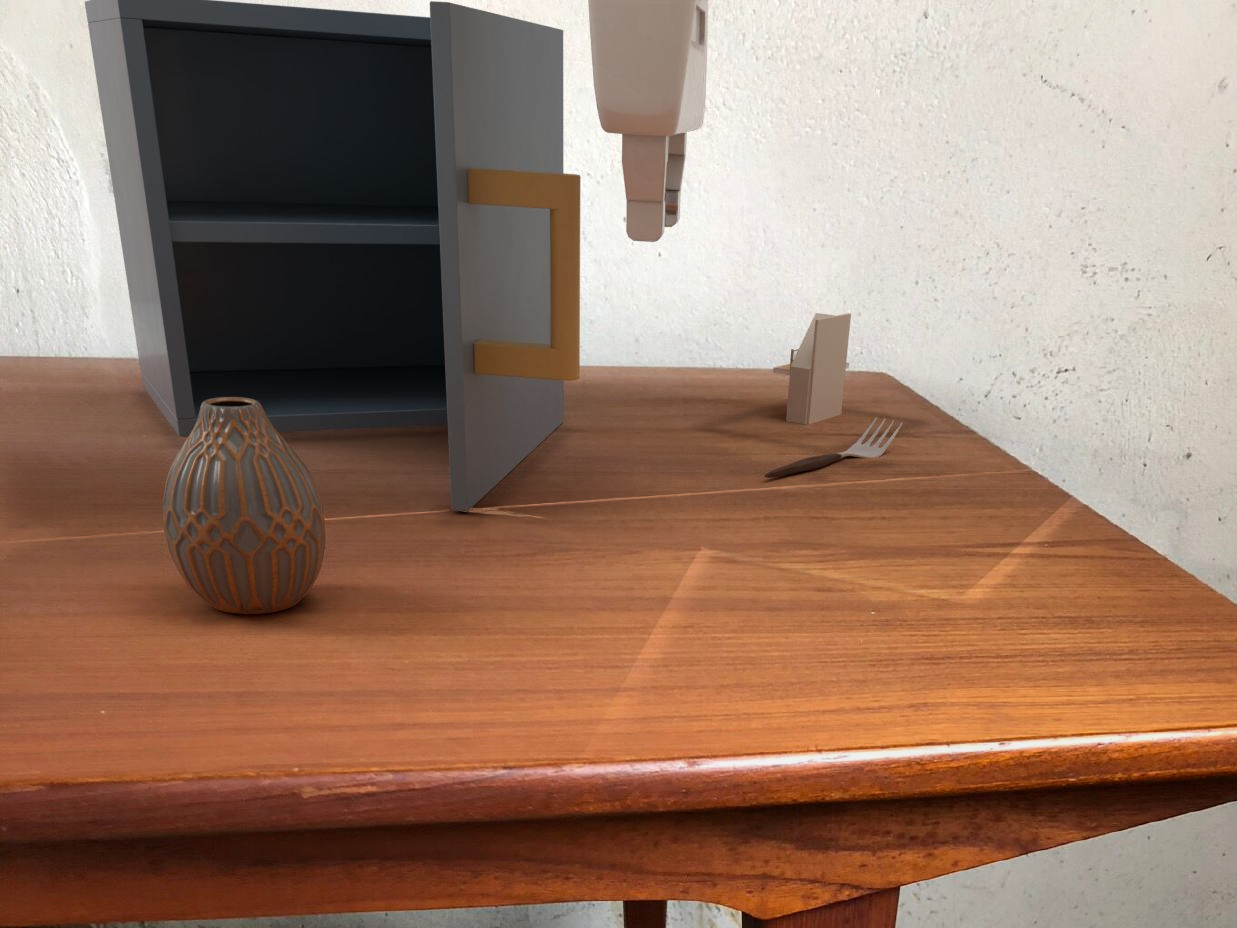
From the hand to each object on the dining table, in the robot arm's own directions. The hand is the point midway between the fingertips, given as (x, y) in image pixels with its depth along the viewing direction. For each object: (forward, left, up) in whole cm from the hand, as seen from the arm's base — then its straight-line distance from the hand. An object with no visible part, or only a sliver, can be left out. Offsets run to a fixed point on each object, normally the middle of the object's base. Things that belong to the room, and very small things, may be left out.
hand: (654, 233), depth 72 cm
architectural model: (+24, +22, -15) cm, 36 cm away
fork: (+17, +8, -15) cm, 24 cm away
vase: (-24, -9, -15) cm, 30 cm away
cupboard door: (-1, +12, -15) cm, 19 cm away
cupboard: (-9, +35, -15) cm, 39 cm away
